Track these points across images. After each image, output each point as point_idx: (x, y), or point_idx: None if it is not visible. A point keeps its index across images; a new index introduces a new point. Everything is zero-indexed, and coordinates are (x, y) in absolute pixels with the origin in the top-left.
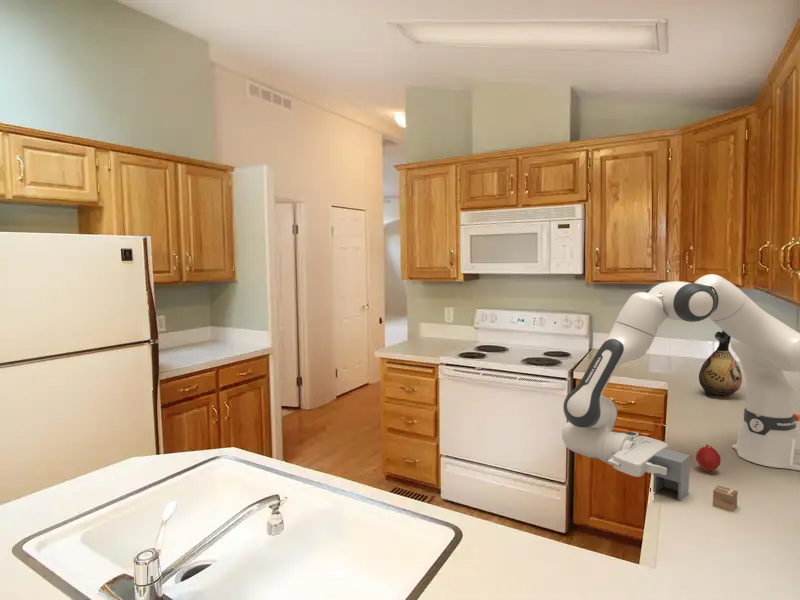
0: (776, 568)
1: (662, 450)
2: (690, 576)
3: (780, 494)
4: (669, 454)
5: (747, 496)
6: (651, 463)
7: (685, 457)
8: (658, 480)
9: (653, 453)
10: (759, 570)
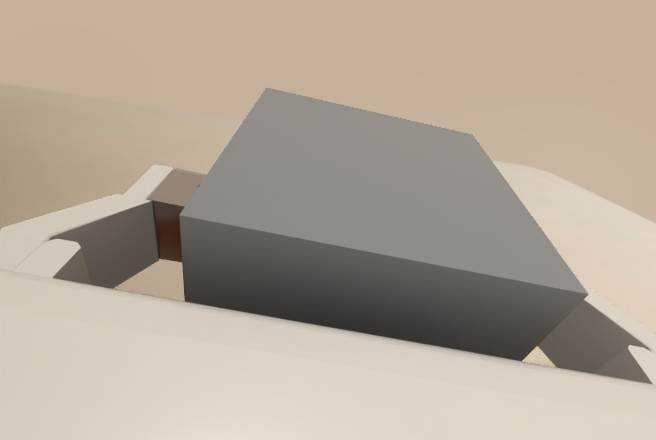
0: (499, 171)
1: (290, 220)
2: None
3: (93, 110)
4: (373, 172)
5: (154, 160)
6: (636, 347)
7: (336, 108)
8: None
9: (403, 352)
10: (536, 188)
